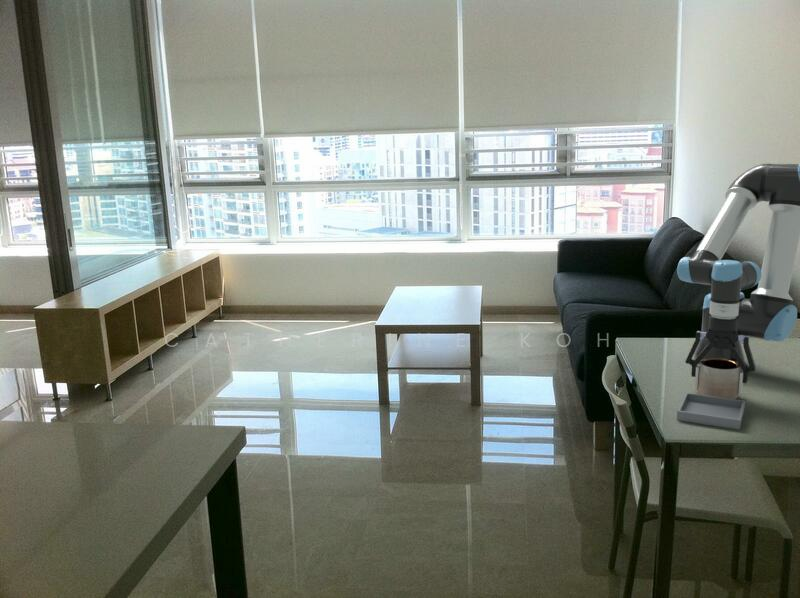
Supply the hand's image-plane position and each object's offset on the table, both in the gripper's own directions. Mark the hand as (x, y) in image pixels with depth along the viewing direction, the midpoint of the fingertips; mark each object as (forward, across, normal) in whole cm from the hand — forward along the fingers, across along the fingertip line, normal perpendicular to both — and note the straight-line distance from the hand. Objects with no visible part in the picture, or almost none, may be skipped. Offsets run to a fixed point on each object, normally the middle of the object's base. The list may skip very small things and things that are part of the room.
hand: (718, 390), depth 212 cm
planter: (+2, 0, 0) cm, 2 cm away
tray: (+1, 0, -16) cm, 16 cm away
